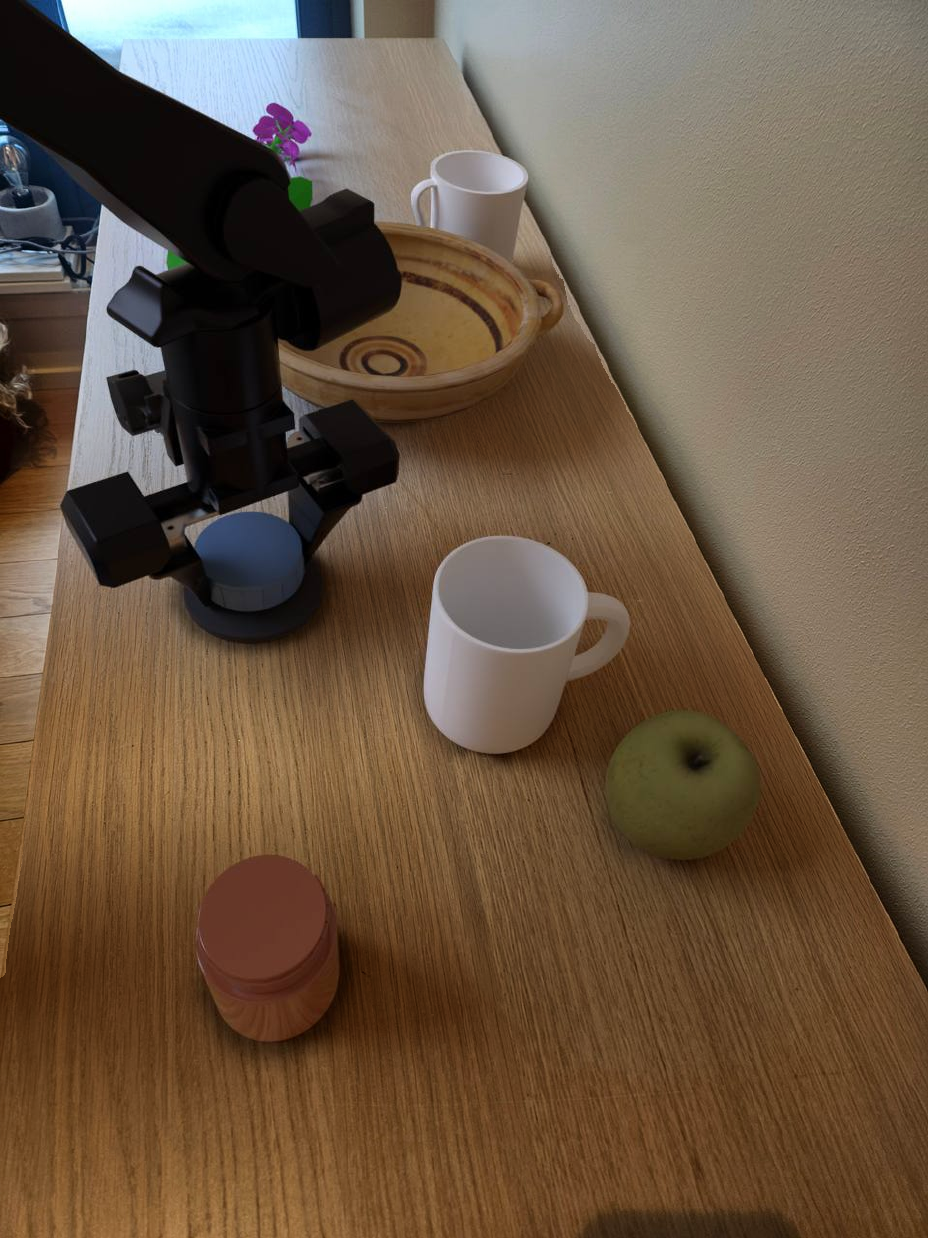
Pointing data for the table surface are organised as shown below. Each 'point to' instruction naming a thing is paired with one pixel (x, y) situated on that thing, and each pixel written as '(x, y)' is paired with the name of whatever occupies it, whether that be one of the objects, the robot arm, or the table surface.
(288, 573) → the jar lid
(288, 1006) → the jar
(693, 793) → the apple
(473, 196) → the mug
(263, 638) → the coaster
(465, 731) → the mug
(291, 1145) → the table surface
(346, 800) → the table surface
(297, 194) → the potted plant
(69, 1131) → the table surface
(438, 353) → the ceramic bowl
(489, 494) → the table surface
